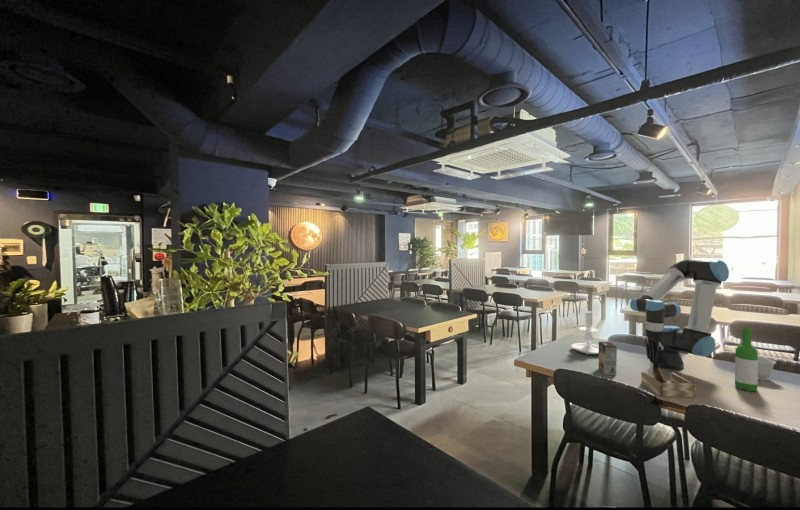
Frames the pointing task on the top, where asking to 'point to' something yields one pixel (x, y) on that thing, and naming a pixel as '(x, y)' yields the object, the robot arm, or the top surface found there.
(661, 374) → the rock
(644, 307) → the robot arm
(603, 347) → the coffee box
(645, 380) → the box
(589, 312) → the candlestick
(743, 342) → the wine bottle
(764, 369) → the teacup
